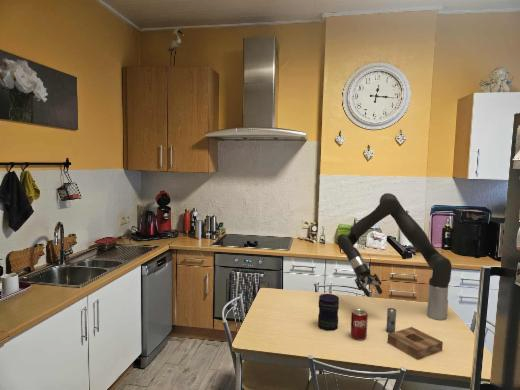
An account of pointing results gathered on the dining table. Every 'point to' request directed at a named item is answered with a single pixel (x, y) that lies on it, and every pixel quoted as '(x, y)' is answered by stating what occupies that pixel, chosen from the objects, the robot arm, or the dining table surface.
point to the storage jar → (328, 312)
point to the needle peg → (391, 320)
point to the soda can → (359, 324)
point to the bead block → (415, 342)
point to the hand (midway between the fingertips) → (375, 294)
